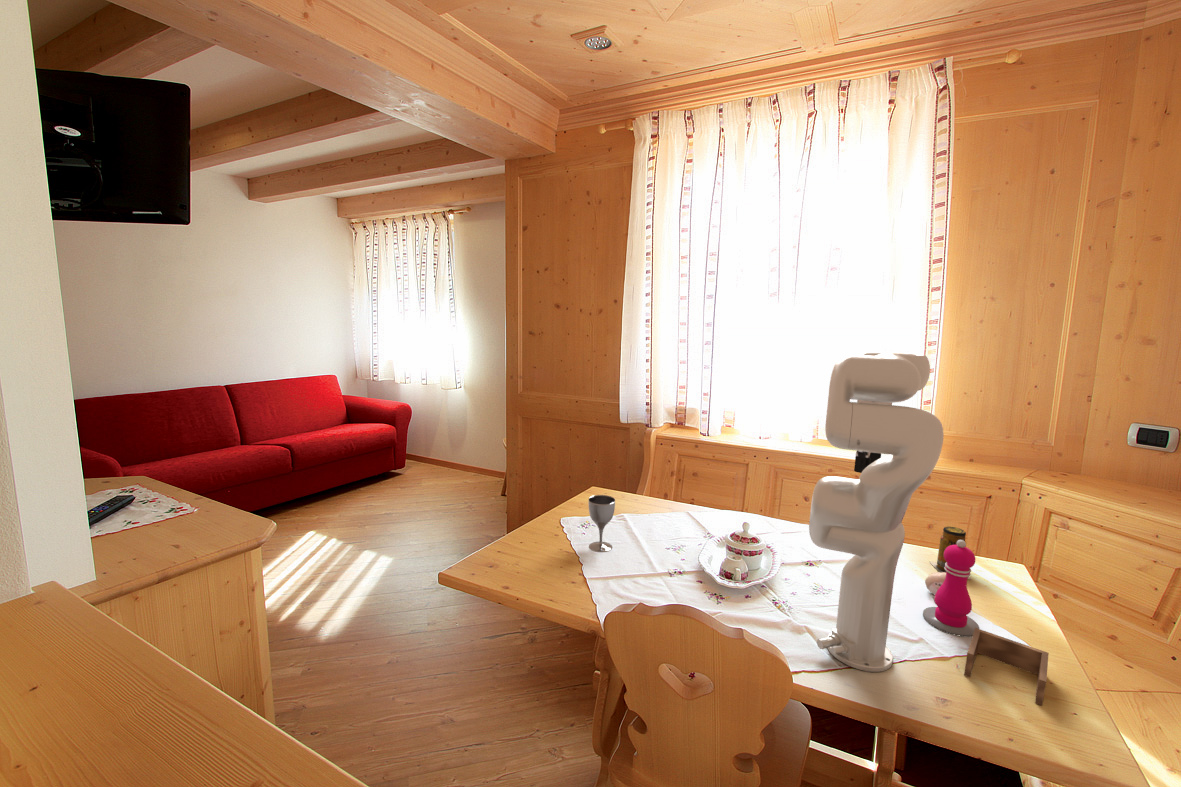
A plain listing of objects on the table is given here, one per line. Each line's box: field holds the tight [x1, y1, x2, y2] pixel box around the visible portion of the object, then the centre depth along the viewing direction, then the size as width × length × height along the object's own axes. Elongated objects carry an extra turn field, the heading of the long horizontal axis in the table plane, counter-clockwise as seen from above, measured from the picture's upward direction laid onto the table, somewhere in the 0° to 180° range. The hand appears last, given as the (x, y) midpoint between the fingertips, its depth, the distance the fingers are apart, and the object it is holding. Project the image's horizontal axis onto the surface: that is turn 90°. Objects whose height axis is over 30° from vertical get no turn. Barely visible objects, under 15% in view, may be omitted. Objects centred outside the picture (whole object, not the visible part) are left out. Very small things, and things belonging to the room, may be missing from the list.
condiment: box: [929, 525, 972, 580], centre depth 148 cm, size 7×8×12 cm
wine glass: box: [588, 494, 616, 553], centre depth 158 cm, size 8×8×15 cm
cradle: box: [963, 628, 1050, 707], centre depth 105 cm, size 12×12×5 cm
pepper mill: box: [933, 540, 976, 628], centre depth 122 cm, size 7×7×20 cm
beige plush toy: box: [924, 571, 946, 596], centre depth 135 cm, size 7×6×8 cm
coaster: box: [922, 606, 980, 637], centre depth 124 cm, size 11×11×1 cm
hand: (867, 468), depth 131 cm, fingers open, 9 cm apart
